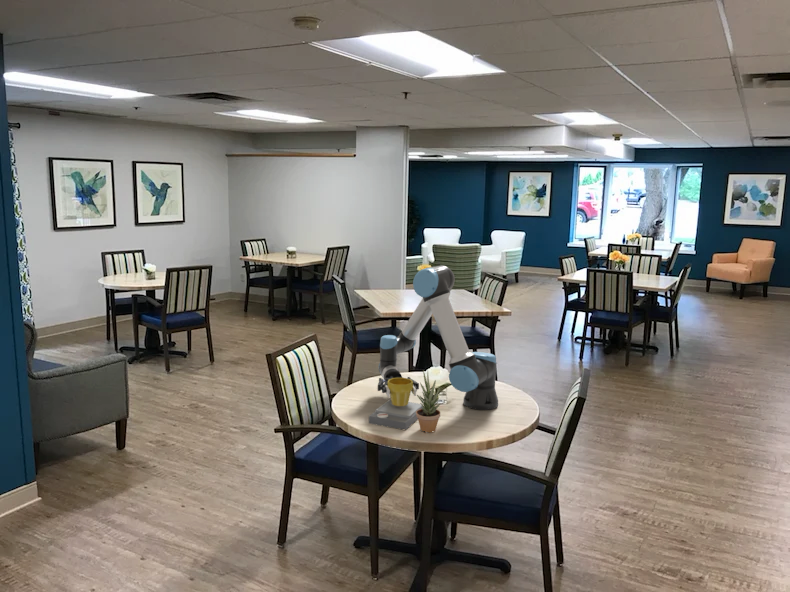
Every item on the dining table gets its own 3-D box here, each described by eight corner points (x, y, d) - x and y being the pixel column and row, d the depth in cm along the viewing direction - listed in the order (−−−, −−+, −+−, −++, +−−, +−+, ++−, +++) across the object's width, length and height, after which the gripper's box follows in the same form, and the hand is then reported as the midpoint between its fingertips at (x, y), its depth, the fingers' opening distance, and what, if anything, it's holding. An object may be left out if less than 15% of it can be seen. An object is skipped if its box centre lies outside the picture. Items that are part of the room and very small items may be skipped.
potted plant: (414, 425, 253) (415, 365, 249) (438, 425, 254) (440, 365, 249) (417, 435, 243) (418, 373, 239) (441, 434, 244) (443, 373, 239)
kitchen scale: (424, 413, 266) (424, 404, 265) (405, 430, 248) (405, 420, 247) (389, 407, 272) (389, 398, 272) (368, 423, 254) (368, 413, 254)
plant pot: (389, 398, 267) (389, 376, 265) (413, 400, 266) (414, 378, 264) (385, 407, 257) (385, 384, 255) (410, 408, 256) (411, 385, 254)
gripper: (417, 383, 280) (429, 400, 259) (366, 385, 276) (374, 403, 255) (417, 367, 279) (429, 383, 258) (366, 369, 275) (374, 385, 253)
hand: (402, 393), depth 256 cm, fingers closed on plant pot, 10 cm apart
